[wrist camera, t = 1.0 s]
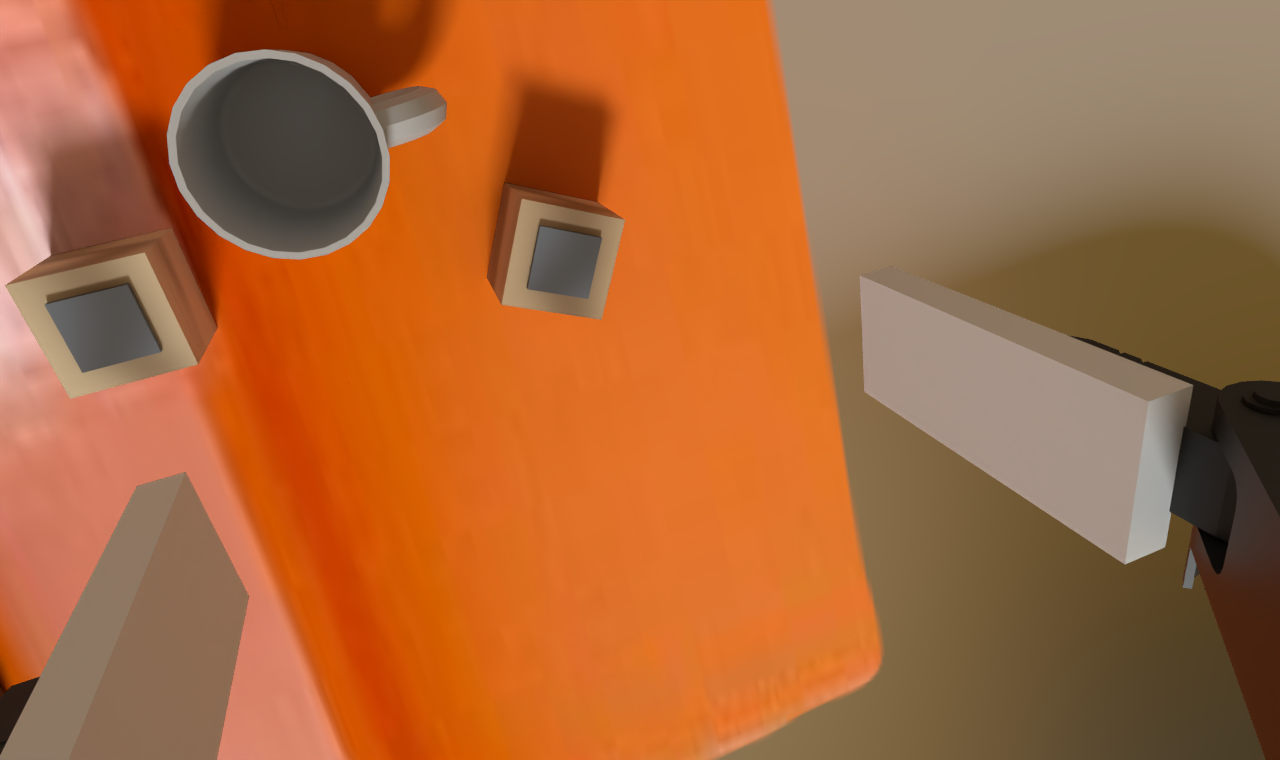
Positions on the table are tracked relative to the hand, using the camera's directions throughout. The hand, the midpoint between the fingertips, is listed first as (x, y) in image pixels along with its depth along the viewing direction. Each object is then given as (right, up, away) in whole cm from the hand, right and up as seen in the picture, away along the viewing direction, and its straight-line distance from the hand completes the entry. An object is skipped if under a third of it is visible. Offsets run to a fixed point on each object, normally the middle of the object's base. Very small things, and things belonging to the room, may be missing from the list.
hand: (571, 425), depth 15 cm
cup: (-13, +13, +21) cm, 27 cm away
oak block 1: (-22, +5, +21) cm, 30 cm away
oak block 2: (-4, +8, +26) cm, 27 cm away
